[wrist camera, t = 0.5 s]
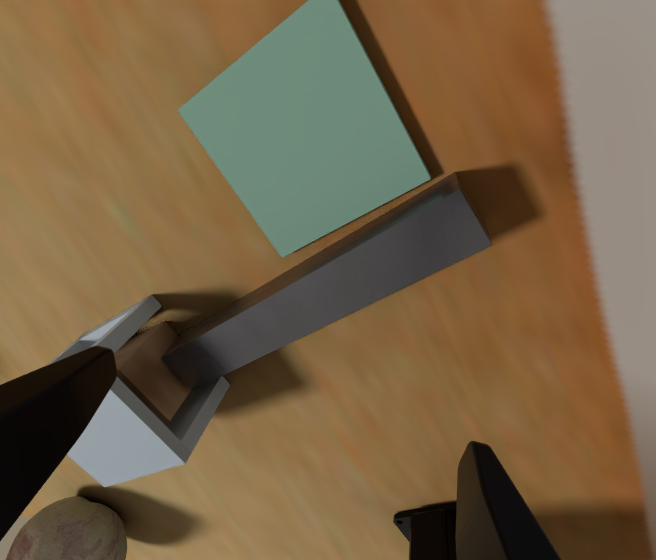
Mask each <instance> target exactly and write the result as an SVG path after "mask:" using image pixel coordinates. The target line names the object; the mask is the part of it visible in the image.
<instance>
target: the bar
mask: <svg viewBox="0 0 656 560" xmlns="http://www.w3.org/2000/svg"><path fill="white" fill-rule="evenodd" d="M491 245H492V243H491V240H490V237H489V234H488V231H487V228H486V225H485V222H484V221H483V219H482V217H481V215H480V214H479V212H478V210H477V209H476V207H475V205H474V203H473V202H472V200H471V198H470V196H469V195H468V193H467V191H466V190H465V188H464V186H463V184H462V183H461V181H460V179H459V178H458V176H457V174H456V172H454V173H453V174H451V175H449V176H447V177H446V178H444V179H442V180H441V181H439V182H437V183H436V184H434V185H432V186H431V187H429V188H427V189H425V190H424V191H422V192H420V193H419V194H417V195H415V196H414V197H412V198H410V199H408V200H407V201H405V202H403V203H402V204H400V205H398V206H397V207H395V208H393V209H392V210H390V211H388V212H386V213H385V214H383V215H381V216H380V217H378V218H376V219H375V220H373V221H371V222H370V223H368V224H366V225H364V226H363V227H361V228H359V229H358V230H356V231H354V232H353V233H351V234H349V235H347V236H346V237H344V238H342V239H341V240H339V241H337V242H336V243H334V244H332V245H331V246H329V247H327V248H325V249H324V250H322V251H320V252H319V253H317V254H315V255H314V256H312V257H310V258H308V259H307V260H305V261H303V262H302V263H300V264H298V265H297V266H295V267H293V268H292V269H290V270H288V271H286V272H285V273H283V274H281V275H280V276H278V277H276V278H275V279H273V280H271V281H270V282H268V283H266V284H264V285H263V286H261V287H259V288H258V289H256V290H254V291H253V292H251V293H249V294H247V295H246V296H244V297H242V298H241V299H239V300H237V301H236V302H234V303H232V304H231V305H229V306H227V307H225V308H224V309H222V310H220V311H219V312H217V313H215V314H214V315H212V316H210V317H208V318H207V319H205V320H203V321H202V322H200V323H198V324H197V325H195V326H193V327H192V328H190V329H188V330H186V331H185V332H183V333H182V334H181V335H180V336H179V337H178V338H177V340H176V341H175V342H174V343H173V344H172V346H171V347H170V348H169V349H168V350H167V351H166V353H165V354H164V355H163V356H162V357H161V359H162V360H163V361H164V362H165V363H166V364H167V365H168V366H169V367H170V368H171V369H172V370H173V371H174V372H175V373H176V374H177V375H178V376H179V377H180V378H181V379H182V380H183V381H184V382H185V383H186V384H187V385H188V386H189V387H190V388H191V389H192V390H194V389H197V388H199V387H201V386H203V385H205V384H207V383H209V382H211V381H213V380H215V379H217V378H219V377H221V376H223V375H225V374H227V373H230V372H232V371H234V370H236V369H238V368H240V367H242V366H244V365H246V364H248V363H250V362H252V361H254V360H256V359H258V358H260V357H262V356H265V355H267V354H269V353H271V352H273V351H275V350H277V349H279V348H281V347H283V346H285V345H287V344H289V343H291V342H293V341H295V340H297V339H300V338H302V337H304V336H306V335H308V334H310V333H312V332H314V331H316V330H318V329H320V328H322V327H324V326H326V325H328V324H330V323H333V322H335V321H337V320H339V319H341V318H343V317H345V316H347V315H349V314H351V313H353V312H355V311H357V310H359V309H361V308H363V307H365V306H368V305H370V304H372V303H374V302H376V301H378V300H380V299H382V298H384V297H386V296H388V295H390V294H392V293H394V292H396V291H398V290H401V289H403V288H405V287H407V286H409V285H411V284H413V283H415V282H417V281H419V280H421V279H423V278H425V277H427V276H429V275H431V274H433V273H436V272H438V271H440V270H442V269H444V268H446V267H448V266H450V265H452V264H454V263H456V262H458V261H460V260H462V259H464V258H466V257H468V256H471V255H473V254H475V253H477V252H479V251H481V250H483V249H485V248H487V247H489V246H491Z"/></svg>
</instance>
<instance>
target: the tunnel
mask: <svg viewBox="0 0 656 560" xmlns="http://www.w3.org/2000/svg"><path fill="white" fill-rule="evenodd" d="M161 307H162V306H161V304H160V303H159V302H158V301H157V300H156V299H155V298H154V296H153V295H150V296H149V297H147V298H145V299H144V300H142V301H140V302H138V303H137V304H135V305H133V306H131V307H130V308H128V309H126V310H125V311H123V312H121V313H119V314H118V315H116V316H114V317H112V318H111V319H109V320H107V321H106V322H104V323H102V324H100V325H99V326H97V327H95V328H93V329H92V330H90V331H88V332H87V333H85V334H83V335H82V336H81V337H79V338H78V339H77V340H76V341H75V342H73V343H72V344H71V345H70V346H69V347H68V348H66V349H65V350H64V351H63V352H62V353H60V354H59V355H58V356H57V357H56V358H55V359H53V360H52V361H51V362H50V363H49V364H52V363H54V362H57V361H59V360H61V359H64V358H66V357H69V356H71V355H73V354H76V353H78V352H81V351H83V350H85V349H88V348H90V347H93V346H103V347H107V348H110V349H112V350H113V352H114V353H115V352H116V351H117V350H118V349H119V348H120V347H121V346H122V345H123V344H124V343H125V342H126V341H127V340H128V339H129V338H130V337H131V336H133V335H134V334H135V333H136V332H137V331H138V330H139V329H140V328H141V327H142V326H143V325H144V324H145V323H146V322H147V321H148V320H149V319H150V318H151V317H152V316H153V315H154V314H155V313H156V312H157V311H158V310H159V309H160V308H161ZM49 364H47V365H49ZM47 365H46V366H47ZM229 386H230V384H229V383H228V381H227V380H226V379H225V378H224V377H223V376H221V377H219V378H217V379H215V380H213V381H211V382H209V383H207V384H205V385H203V386H201V387H199V388H197V389H194V390H191V391H190V392H189V394H188V395H187V397H186V398H185V400H184V401H183V403H182V404H181V406H180V407H179V409H178V410H177V412H176V413H175V415H174V416H173V417H172V419H171V420H170V421H169V422H167V423H164V424H163V423H162V422H161V421H160V419H159V418H158V417H157V416H156V415H155V414H154V413H153V412H152V411H151V410H150V409H149V408H148V407H147V406H146V405H145V404H144V403H143V402H142V401H141V400H140V399H139V398H138V397H137V396H136V395H135V394H134V393H133V392H132V391H131V390H130V389H129V388H128V387H127V386H126V385H125V384H124V383H123V382H122V381H121V380H120V379H119V378H118V377H117V378H116V380H115V382H114V384H113V386H112V387H111V389H110V390H109V392H108V394H107V395H106V397H105V398H104V400H103V402H102V403H101V405H100V406H99V408H98V410H97V411H96V413H95V414H94V416H93V418H92V419H91V421H90V423H89V424H88V426H87V427H86V429H85V430H84V432H83V433H82V435H81V436H80V437H79V439H78V440H77V442H76V443H75V444H74V446H73V447H72V448H71V449H70V451H69V452H68V453H67V455H68V456H69V457H70V458H71V459H73V460H74V461H75V462H76V463H77V464H78V465H79V466H81V467H82V468H83V469H84V470H85V471H86V472H87V473H89V474H90V475H91V476H92V477H93V478H94V479H95V480H97V481H98V482H99V483H100V484H101V485H102V486H103V487H108V486H111V485H115V484H118V483H121V482H125V481H128V480H132V479H135V478H138V477H142V476H145V475H149V474H152V473H155V472H159V471H162V470H165V469H169V468H172V467H176V466H179V465H182V464H185V463H186V461H187V460H188V458H189V456H190V454H191V453H192V451H193V449H194V448H195V446H196V444H197V442H198V441H199V439H200V437H201V435H202V434H203V432H204V430H205V428H206V427H207V425H208V423H209V421H210V420H211V418H212V416H213V414H214V413H215V411H216V409H217V407H218V406H219V404H220V402H221V400H222V399H223V397H224V395H225V393H226V392H227V390H228V388H229Z"/></svg>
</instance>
